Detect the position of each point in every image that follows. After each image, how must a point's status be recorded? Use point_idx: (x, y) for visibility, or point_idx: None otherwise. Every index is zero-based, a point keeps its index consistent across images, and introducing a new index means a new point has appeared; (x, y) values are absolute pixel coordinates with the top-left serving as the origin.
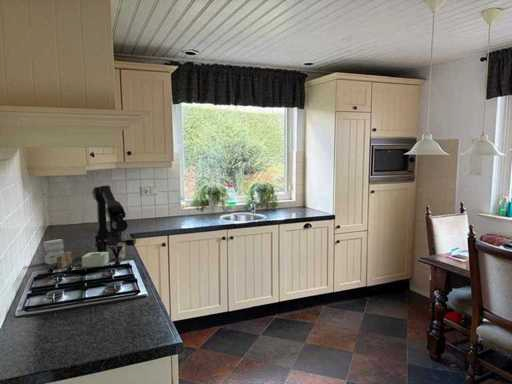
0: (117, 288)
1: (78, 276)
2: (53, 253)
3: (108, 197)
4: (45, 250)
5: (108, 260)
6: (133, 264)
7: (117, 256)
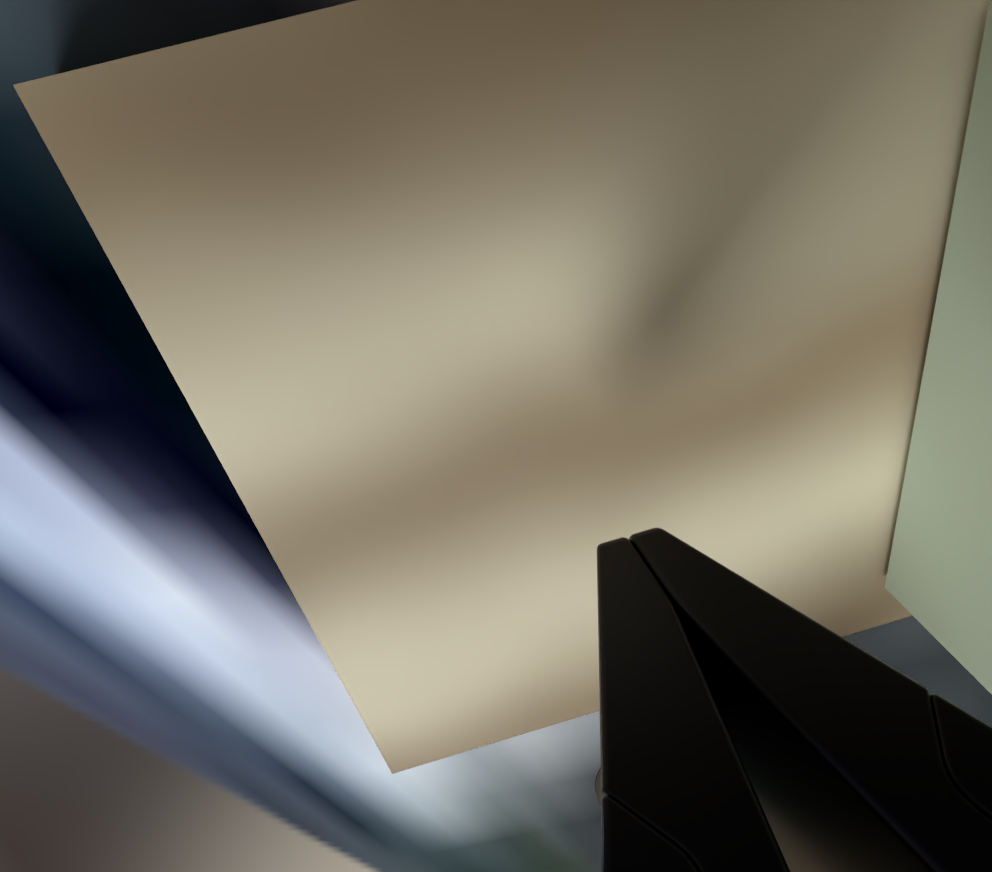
0: None
1: None
2: None
3: None
4: None
5: (910, 585)
6: (139, 587)
7: (638, 616)
